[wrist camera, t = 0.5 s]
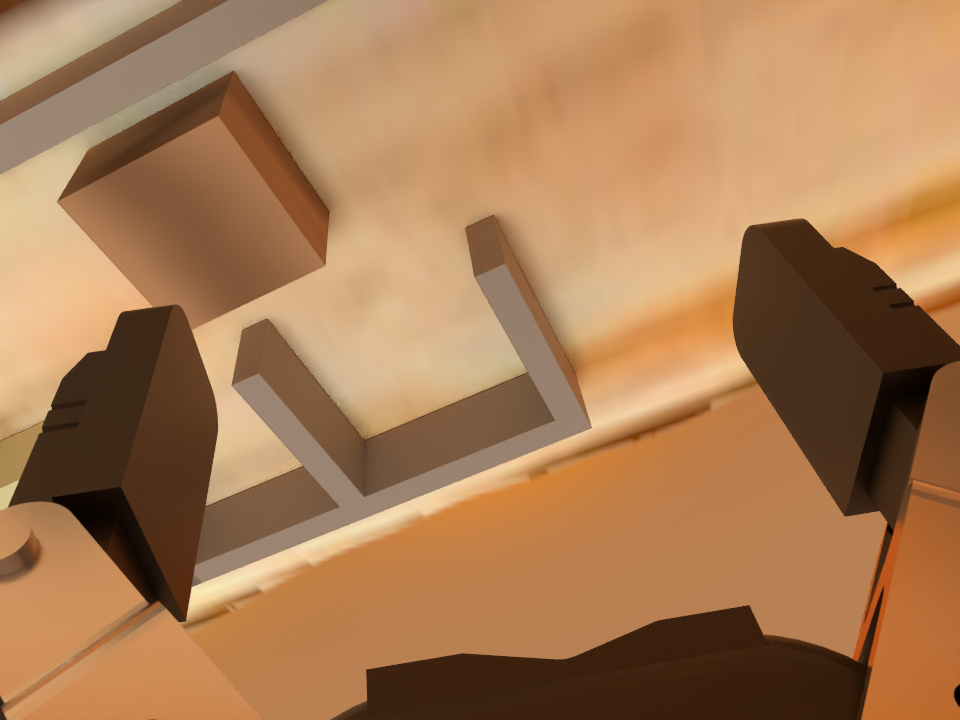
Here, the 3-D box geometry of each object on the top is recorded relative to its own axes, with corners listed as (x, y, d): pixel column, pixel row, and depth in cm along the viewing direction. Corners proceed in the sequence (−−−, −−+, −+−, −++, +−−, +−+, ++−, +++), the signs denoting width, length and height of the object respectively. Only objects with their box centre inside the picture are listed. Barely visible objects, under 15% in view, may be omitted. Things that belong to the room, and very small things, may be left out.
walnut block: (234, 68, 28) (218, 116, 25) (329, 209, 32) (325, 265, 29) (89, 147, 29) (57, 201, 26) (197, 274, 33) (179, 335, 30)
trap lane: (397, -118, 25) (401, -94, 22) (617, 357, 38) (636, 410, 35) (-291, 262, 30) (-356, 319, 28) (103, 569, 43) (86, 628, 40)
